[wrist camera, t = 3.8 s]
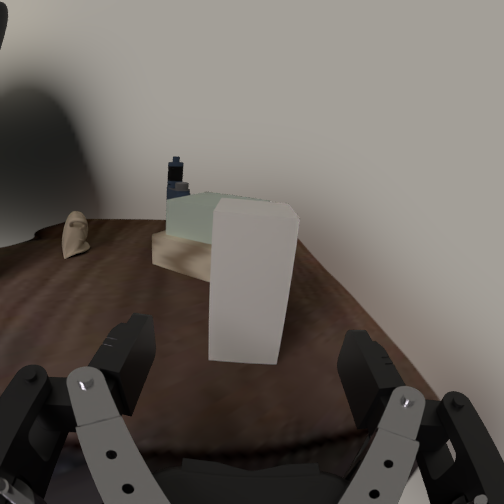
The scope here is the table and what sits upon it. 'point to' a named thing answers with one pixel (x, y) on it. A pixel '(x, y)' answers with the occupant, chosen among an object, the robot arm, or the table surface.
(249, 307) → the white block
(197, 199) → the top block
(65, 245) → the decorative ornament
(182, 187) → the vaping device
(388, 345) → the table surface
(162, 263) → the base block
